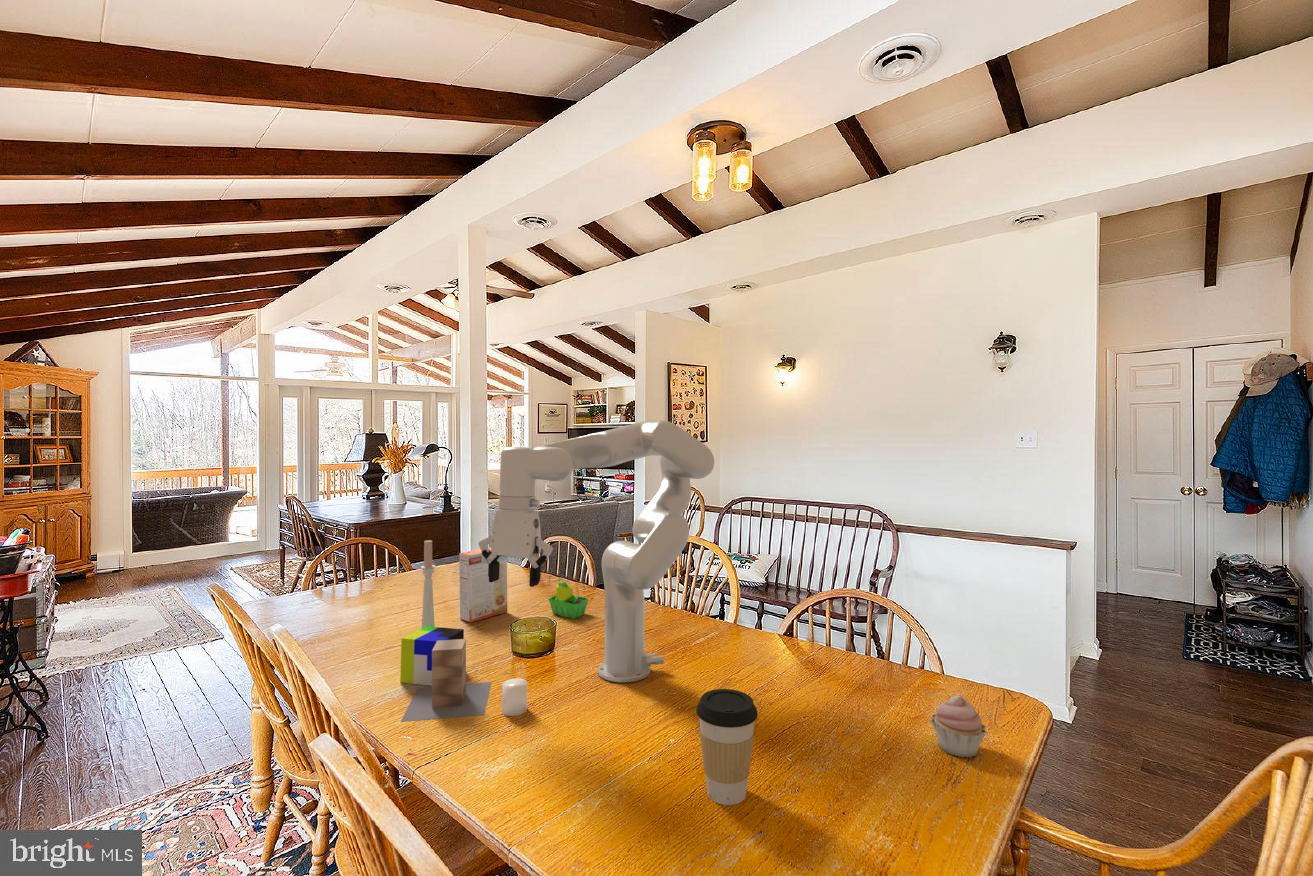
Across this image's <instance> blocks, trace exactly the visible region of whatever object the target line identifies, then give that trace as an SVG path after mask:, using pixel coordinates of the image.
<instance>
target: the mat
mask: <svg viewBox="0 0 1313 876" xmlns="http://www.w3.org/2000/svg"><path fill="white" fill-rule="evenodd" d="M491 686H492V681H485V682H474V683H473V682H472V683H470V682H469V683H466V694H465V698H464V701H463V704H462V706H451V707H438V708H432V686H430V685H427V686H418V687H417V688H416V690H415V692H414V694H413V696H412V698H411V700H410V702H409V704H408V707H406V708H407V709H406V710H405V711H404V712H405V713H404V714H403V716H402V718H401V720H400V722H401V723H403V722H404V723H405V722H415V721H416V722H417V721H429V720H430V721H431V720H441V719H442V720H443V719H450V718H451V719H452V718H455V719H456V718H464V717H465V718H466V717H475V716H476V717H477V716H484V715H485V713H486V708H487V703H488V700H489V695H490V690H491Z"/></svg>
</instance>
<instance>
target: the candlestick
mask: <svg viewBox="0 0 1313 876" xmlns="http://www.w3.org/2000/svg"><path fill="white" fill-rule="evenodd" d="M435 567H436V565H434V564H433V540H430V539H427V540H424V542H423V565H421V566H420V568H421V569H422V574H423V576H424V580H423V595H422V596H423V597H422V598H423V599H422V612H421V613H422V614H421V615H422V617H421V629H422V628H425V627H427V626H429V627H436V626H435V611H434V610H435V609H434V608H435V607H434V606H435V605H434V592H433V591H434V590H433V578H432V576H433V574H434V568H435Z"/></svg>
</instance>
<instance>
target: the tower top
mask: <svg viewBox="0 0 1313 876" xmlns="http://www.w3.org/2000/svg"><path fill="white" fill-rule="evenodd" d="M465 667H466V668H467V639H466V638H464V639H456V640H439V641H437V642H436V644H435V646H434V648H433V650H432V679H444V678H458V677H462V676H463V673H464V670H465Z"/></svg>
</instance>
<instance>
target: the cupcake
mask: <svg viewBox="0 0 1313 876" xmlns="http://www.w3.org/2000/svg"><path fill="white" fill-rule="evenodd" d="M930 723H931V725H932V727H933V728H934V731H935V735H936V738H937V742H938V745H939V747H940V749H941V750H942V751H944V752H946V753H947V754H950V755H952V756H954V755H955V757H957V756H958V757H957V758H964V757H967V758H968V757H969V758H973V757H972V756H974V757H975V756H976V755H977V754H978V752H979V748H980V745H981V743H982V740H983V738H984V737H985V736H986V734H987V733H988V732H987V731H986V729H987V728H988V727H987V726H986V725H985V724H983V721H982V717H980V715H979V713H977V711H976V708H975V707H974V705H973V704H971V702H970V701H968V700H967V699H965V698H964V697H963V696H961V695H954V696H951V697H950V698H949V699H948V700H947V701H946V702H943V703H941V704H939V705H938V706H937V708H936V713H935V714H931V718H930ZM967 758H966V759H967Z"/></svg>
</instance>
